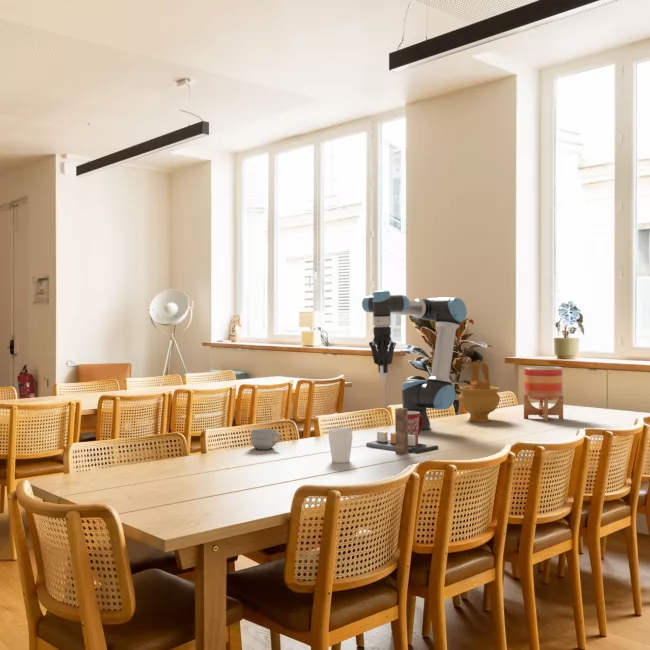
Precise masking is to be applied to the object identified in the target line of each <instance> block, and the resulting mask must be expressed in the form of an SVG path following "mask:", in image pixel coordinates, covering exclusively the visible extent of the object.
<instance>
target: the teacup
mask: <svg viewBox="0 0 650 650" xmlns="http://www.w3.org/2000/svg"><path fill="white" fill-rule="evenodd" d="M281 439H282V435H281V433H280V431H279V432H278V431H277V429H274V428H273V429H272V428H258V429H257V428H256V429H251V430H250V443H251V445H252V447H254V449H255V448H257V449H256V450H271V449H273V448H274V446H275V445H276V444H277V443H279V442H280V441H281ZM270 448H271V449H270Z"/></svg>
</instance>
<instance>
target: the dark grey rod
mask: <svg viewBox="0 0 650 650" xmlns="http://www.w3.org/2000/svg"><path fill="white" fill-rule="evenodd" d="M438 449H439V446H438V445H437V444H436V445H432V446H426V448H421V449H416V450H414V452H413V453H415V454H418V453H419V454H420V453H423V452H427V451H433V450H438Z"/></svg>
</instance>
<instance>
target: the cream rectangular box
mask: <svg viewBox="0 0 650 650" xmlns="http://www.w3.org/2000/svg"><path fill="white" fill-rule="evenodd" d="M408 445H410V446H414V445H415V435H408Z"/></svg>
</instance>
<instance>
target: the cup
mask: <svg viewBox="0 0 650 650" xmlns="http://www.w3.org/2000/svg"><path fill="white" fill-rule="evenodd" d="M328 431H329V432H328V440H329V441H328V442H329V449H330V456H331V461H332V462H333V463H338V464H345V463H349V462H350V458H351V452H352V446H353V445H352V444H353V429H352V428H348V427H347V428H346V427H334V428H331V429H328Z"/></svg>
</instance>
